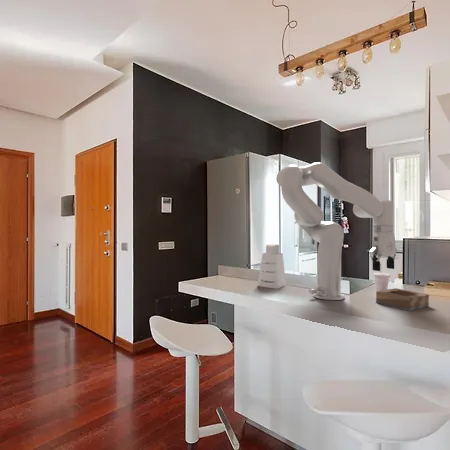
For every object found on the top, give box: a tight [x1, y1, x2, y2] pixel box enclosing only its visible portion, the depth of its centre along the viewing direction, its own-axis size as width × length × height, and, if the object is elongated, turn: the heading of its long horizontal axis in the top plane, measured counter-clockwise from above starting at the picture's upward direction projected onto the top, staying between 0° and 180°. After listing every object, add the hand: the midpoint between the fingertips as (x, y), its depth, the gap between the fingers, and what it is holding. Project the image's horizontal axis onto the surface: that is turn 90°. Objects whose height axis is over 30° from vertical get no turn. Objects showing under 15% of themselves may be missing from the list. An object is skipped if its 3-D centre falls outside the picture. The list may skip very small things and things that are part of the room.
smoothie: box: [373, 263, 391, 292], centre depth 139 cm, size 6×6×14 cm
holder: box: [375, 288, 430, 312], centre depth 126 cm, size 13×13×4 cm
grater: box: [257, 244, 287, 289], centre depth 159 cm, size 10×10×20 cm
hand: (383, 269), depth 139 cm, fingers open, 9 cm apart
